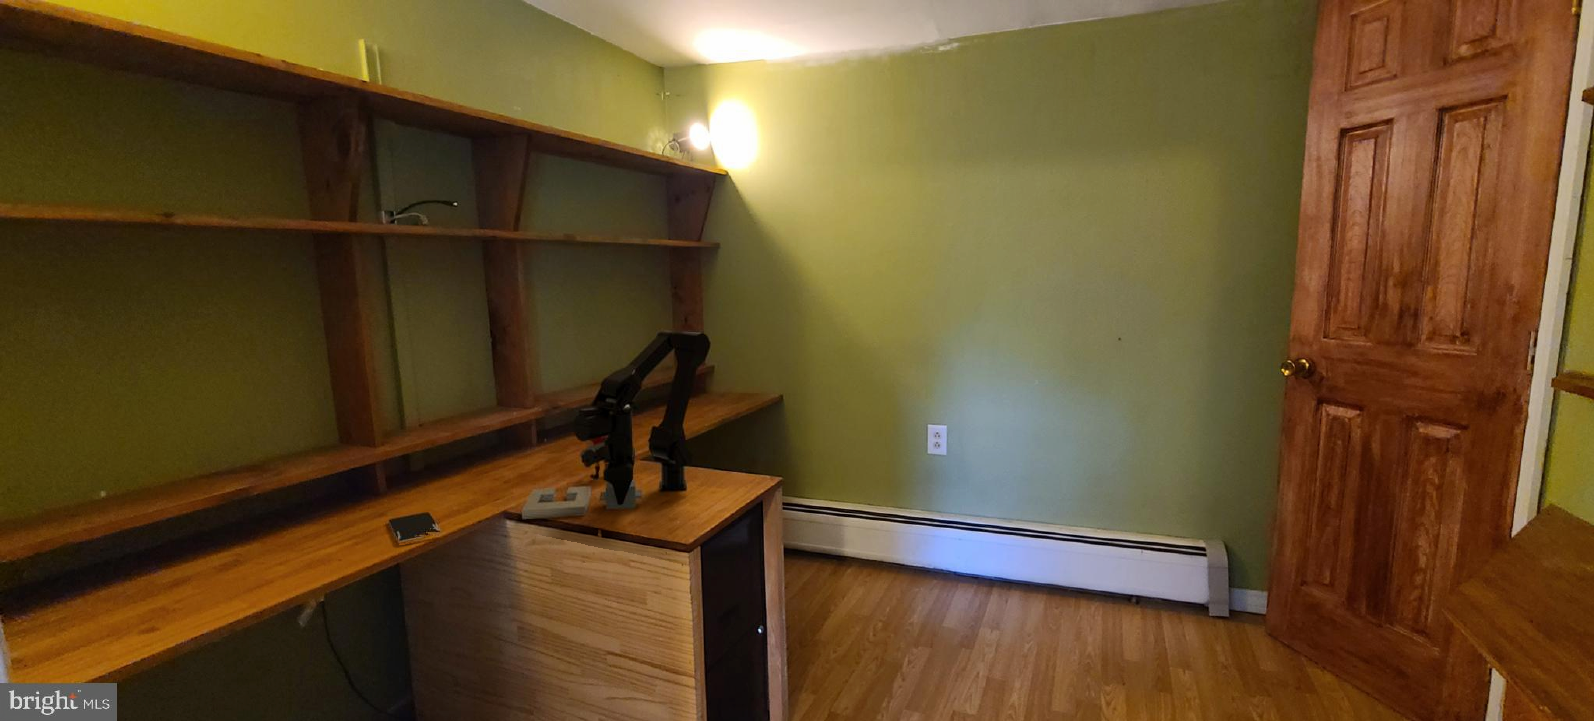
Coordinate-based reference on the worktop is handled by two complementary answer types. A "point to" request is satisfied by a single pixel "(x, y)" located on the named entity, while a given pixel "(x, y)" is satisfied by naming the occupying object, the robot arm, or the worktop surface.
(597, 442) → the action figure
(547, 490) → the plate
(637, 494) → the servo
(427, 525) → the smartphone
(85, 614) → the worktop surface
